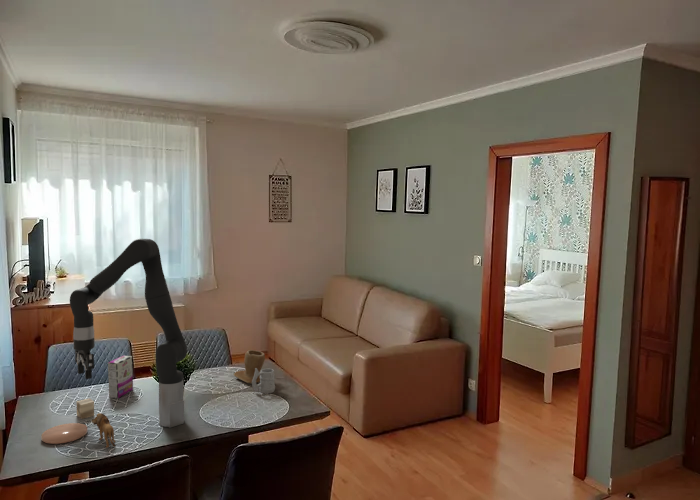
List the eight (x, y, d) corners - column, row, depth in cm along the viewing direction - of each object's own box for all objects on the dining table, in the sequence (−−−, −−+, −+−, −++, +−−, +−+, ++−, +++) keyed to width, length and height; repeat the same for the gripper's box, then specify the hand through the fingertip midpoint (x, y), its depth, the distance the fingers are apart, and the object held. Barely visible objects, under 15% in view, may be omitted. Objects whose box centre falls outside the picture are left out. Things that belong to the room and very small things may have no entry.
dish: (93, 436, 188) (93, 432, 188) (48, 449, 177) (48, 445, 177) (79, 423, 198) (79, 419, 198) (36, 435, 187) (36, 431, 187)
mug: (278, 391, 238) (278, 366, 237) (256, 396, 230) (256, 371, 229) (270, 386, 244) (270, 362, 242) (248, 391, 236) (248, 367, 235)
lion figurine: (90, 437, 187) (90, 414, 186) (105, 432, 191) (104, 409, 190) (108, 450, 177) (108, 425, 177) (123, 445, 182) (123, 421, 181)
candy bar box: (123, 389, 236) (123, 355, 234) (133, 390, 235) (132, 355, 233) (107, 397, 225) (107, 362, 224) (117, 398, 224) (117, 363, 223)
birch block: (94, 415, 206) (93, 401, 205) (81, 419, 202) (80, 404, 202) (89, 412, 209) (89, 398, 209) (76, 415, 206) (76, 401, 205)
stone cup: (269, 381, 250) (269, 352, 249) (247, 387, 242) (248, 356, 241) (253, 373, 262) (253, 345, 260) (232, 378, 254) (233, 349, 253)
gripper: (100, 338, 201) (101, 378, 202) (87, 332, 211) (88, 369, 212) (80, 342, 195) (81, 382, 197) (67, 335, 205) (68, 373, 207)
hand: (84, 375), depth 204 cm, fingers open, 8 cm apart
